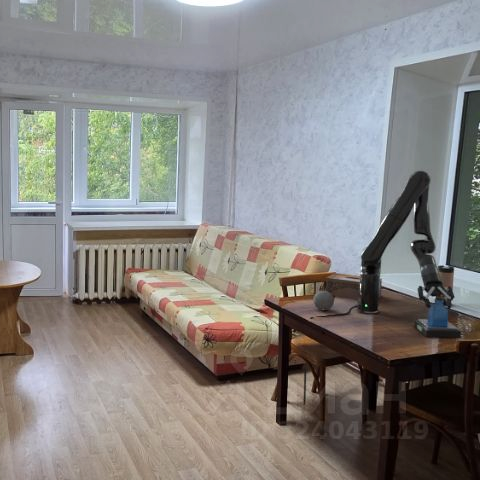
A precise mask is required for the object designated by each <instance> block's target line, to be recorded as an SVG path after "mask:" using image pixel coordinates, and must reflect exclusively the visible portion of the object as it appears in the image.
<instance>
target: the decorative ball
mask: <svg viewBox="0 0 480 480" xmlns="http://www.w3.org/2000/svg"><path fill="white" fill-rule="evenodd" d="M312 300H313V305H314V306H315V307H316V309H318V310H320V311H322V310H321V309H324V310H323V311H328V310H330V309H331V308H332V307H333V306H334V305H335V304H334V303H335V299H334V296H332V295H331V293H329V292H327V291H326V290H320V291H318V292H316V293H315V294H314V295H313V299H312ZM327 309H328V310H327Z"/></svg>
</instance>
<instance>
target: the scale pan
mask: <svg viewBox="0 0 480 480" xmlns="http://www.w3.org/2000/svg"><path fill="white" fill-rule="evenodd" d="M417 320H418V321H419V322H420V323H421V324H422V325H424V326H425V327H426V328H427V329H431V330H457V329H459V328H458V327H457V326H455V325H454V324H453V323H451V322H449V321H448V325H447V326H435V325H431V324H430V323H429V322H428V318H418V319H417Z"/></svg>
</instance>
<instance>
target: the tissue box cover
mask: <svg viewBox="0 0 480 480" xmlns="http://www.w3.org/2000/svg"><path fill="white" fill-rule="evenodd" d="M325 279H326V283H325V286H326V287H325V291H327V292H329V293H331V295H332V296H333V297H336V298H337V297H338V298H343V299H350V300H357V301H358V292H359V291H360V275H357V274H347V273H340V272H334V273H333V274H330V275H329V276H326V278H325ZM382 283H383V278H380V289H379V298H381V297H382Z"/></svg>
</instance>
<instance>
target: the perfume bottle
mask: <svg viewBox="0 0 480 480" xmlns="http://www.w3.org/2000/svg"><path fill="white" fill-rule="evenodd" d="M434 297H435V299H434V302H432V303H430V305H431V307H430V308H428V311H427V312H428V313H427V319H428V322H429V323H430V324H431V325H435V326H447V325H448V322H449V311H448V310H449V309H448V307H447V306H445V305H443V302H444V300H443V297H440V296H434Z"/></svg>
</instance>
